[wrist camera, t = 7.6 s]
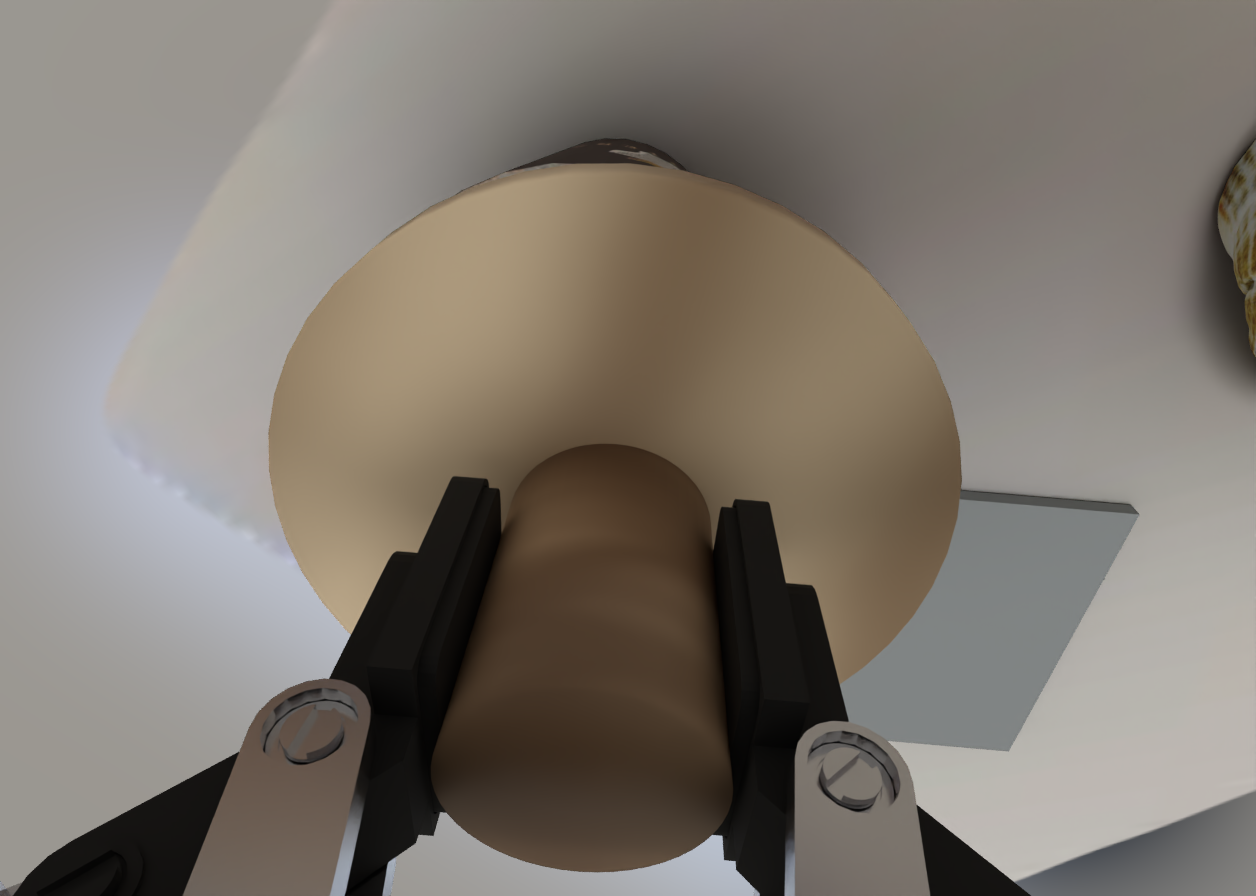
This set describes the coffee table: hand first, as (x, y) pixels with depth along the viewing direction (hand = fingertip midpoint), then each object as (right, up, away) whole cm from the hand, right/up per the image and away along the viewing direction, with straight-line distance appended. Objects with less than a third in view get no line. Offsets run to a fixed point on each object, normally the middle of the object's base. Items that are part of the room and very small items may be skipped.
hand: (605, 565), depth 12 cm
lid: (0, +1, +2) cm, 2 cm away
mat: (+12, -6, +19) cm, 23 cm away
